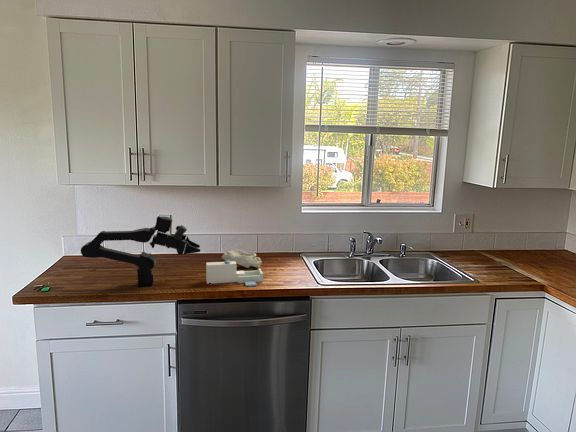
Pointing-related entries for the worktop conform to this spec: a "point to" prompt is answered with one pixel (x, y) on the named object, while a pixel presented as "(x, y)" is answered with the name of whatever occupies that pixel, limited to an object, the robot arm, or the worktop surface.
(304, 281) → the worktop surface
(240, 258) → the sculpture
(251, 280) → the cradle
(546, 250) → the worktop surface
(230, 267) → the white stepped block
